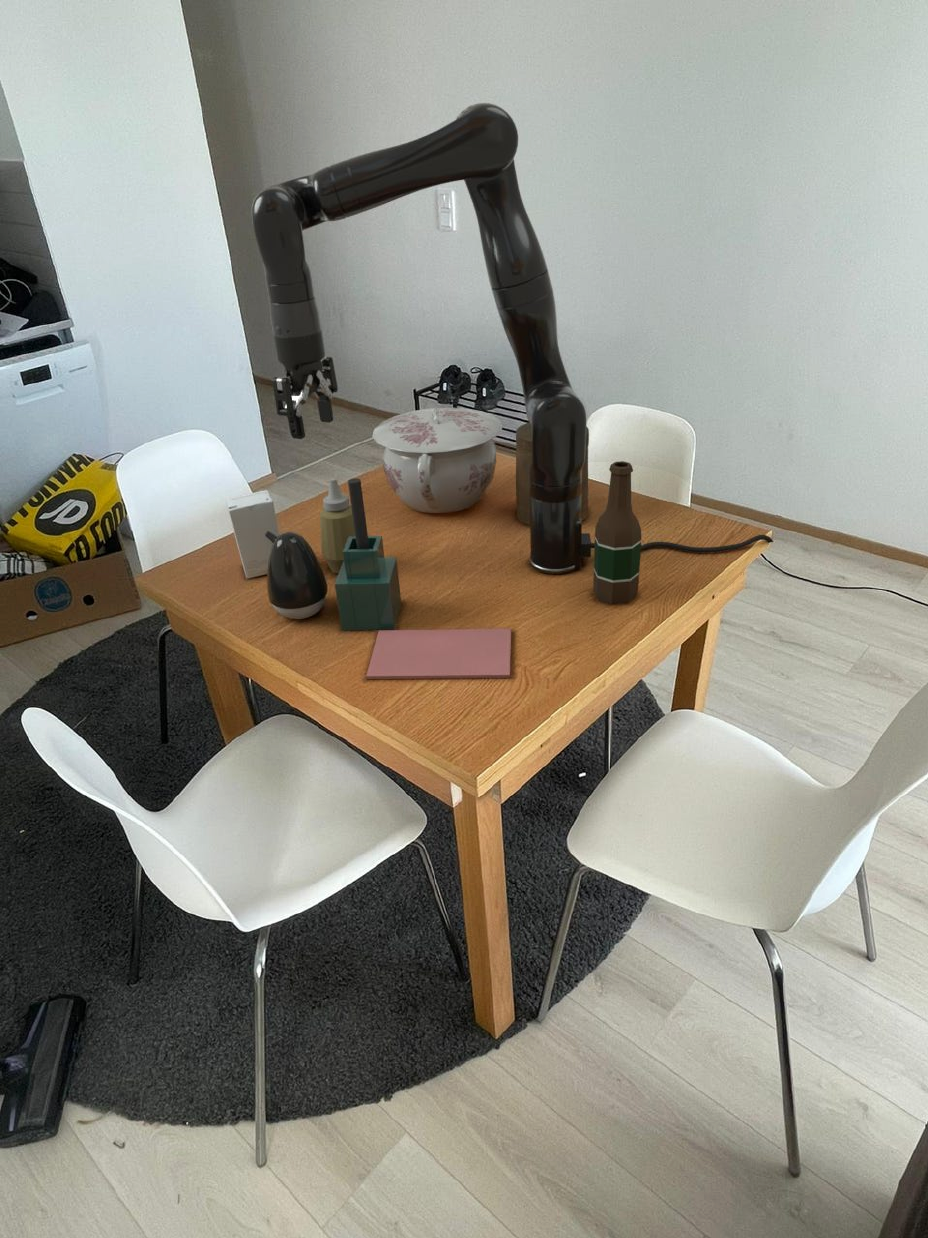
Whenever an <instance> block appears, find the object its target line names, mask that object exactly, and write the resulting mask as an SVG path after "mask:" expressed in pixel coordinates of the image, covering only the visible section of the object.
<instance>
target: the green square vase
mask: <svg viewBox="0 0 928 1238" xmlns="http://www.w3.org/2000/svg"><path fill="white" fill-rule="evenodd" d="M368 541H369V549H357V544H356V537H355V536H354V537H353V536H349V538H348V540H347V543H346V545H345V548H344V550H343V557H344V562H343V564H342V567H341V569H340V572H339V573H338V575H337V577H336V580H335V583H334V589H335V593H336V594H335V596H336V602H337V607H338V608H337V609H338V614H339V620H340V621H339V622H340V627H341V631H379V630H396V627H397V622H398V618H399V614H400V610H401V605H402V595H401V586H400V578H399V569H398V560H397V557H385V549H384V542H383V535H368Z"/></svg>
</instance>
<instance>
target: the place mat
mask: <svg viewBox="0 0 928 1238" xmlns="http://www.w3.org/2000/svg"><path fill="white" fill-rule="evenodd" d="M511 648H512V628H467V629H466V628H463V629H462V628H458V629H457V628H454V629H395V630H378V632H377V635H376V639H375V642H374V647H373V650H372V654H371V658H370V662H369V665H368V668H367V672H366V676H365V677H366V680H415V679H416V680H422V679H423V680H424V679H425V680H427V679H430V680H434V679H511V654H512V653H511V651H512V649H511Z"/></svg>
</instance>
